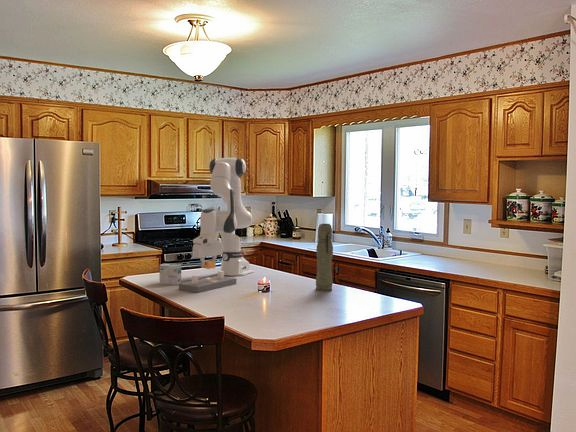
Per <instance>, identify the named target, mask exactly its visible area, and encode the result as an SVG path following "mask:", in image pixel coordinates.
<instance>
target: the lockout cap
mask: <svg viewBox="0 0 576 432" xmlns="http://www.w3.org/2000/svg"><path fill="white" fill-rule="evenodd" d="M204 261H205V262H206V265H205V266H202V262H201V261H200V263H201V264H200V268H201V269H207V270H210V269H216V266H217V265H216V262H217V261H216V260H215V261H212V260H204Z"/></svg>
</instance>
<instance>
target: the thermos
mask: <svg viewBox="0 0 576 432" xmlns="http://www.w3.org/2000/svg"><path fill="white" fill-rule="evenodd" d="M332 239H333V228H332V224H330V223H320V224H319V225H318V228H317V244H316V248H315V249H316V251H315V252H316V276H315V290H316V291H320V292H329V291H332V290H333V277H334V276H333V273H332V271H333V264H332V263H333V257H334V251H333V250H334V245H333V242H332Z"/></svg>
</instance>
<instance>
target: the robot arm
mask: <svg viewBox="0 0 576 432" xmlns="http://www.w3.org/2000/svg"><path fill="white" fill-rule="evenodd" d="M246 163H247V162H246V160H245V159H243V158H241V157H237V158H236V157H220V158H217V157H216V158H213V159H211V160H210V162H209V165H208V166H209V167H208V168H209V173H210V175H211V178H210V183H209V184H210V185H209V186H210V187H209V188H210V189H211V192H212V193H213V194H215V195H216V196H218V197H221V198H222V200H223V202H224V203H225V205H226V204H227V210H218V211H216V210H215V209H214V208H205V209H202V210H201V213H200V218H199V219H200V220H199V226H200V232H199V235H198V236H197V237H195V238H193V240H192V242H193V246H192V257H193V258H194V259H200V263H201V262H202V266H205V265H206V262H205V261H206V260H205V258H207V257H211V261H216V260H217V258H218V256H221V257H222V258H221V262H220V270H219V271H224V276H228V277H229V276H230V277H231V276H246V275H249V274H252V273H254V271H255V270H254V269H251V265H250V262H249V261H248V260H247V259H245V257H244V256H243V255H245V254H246V251H243V250H241V247H242V244H241V241H242V239H241V238H240V237H239V236H238V235H236V234H235V233H234V232H235V231H236V230H237V229H245V228H249V227H250V226H252V223H253V215H252V214H251V212H249V210H247V209H246V208H245V206H244V204H243V199H242V182H241V178H242V177H243V175H245V174H246V171H247V164H246ZM217 233H219V234H220V237H221V238H220V237H218V238H217V235H218V234H217Z"/></svg>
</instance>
